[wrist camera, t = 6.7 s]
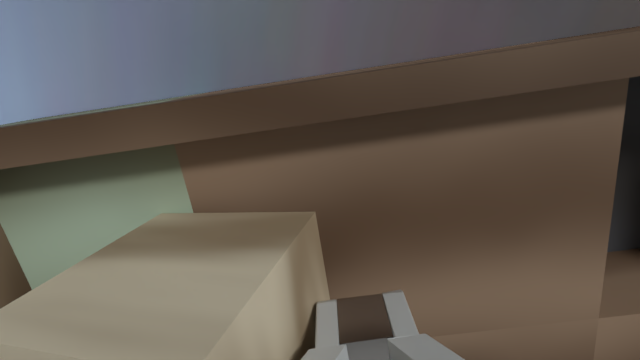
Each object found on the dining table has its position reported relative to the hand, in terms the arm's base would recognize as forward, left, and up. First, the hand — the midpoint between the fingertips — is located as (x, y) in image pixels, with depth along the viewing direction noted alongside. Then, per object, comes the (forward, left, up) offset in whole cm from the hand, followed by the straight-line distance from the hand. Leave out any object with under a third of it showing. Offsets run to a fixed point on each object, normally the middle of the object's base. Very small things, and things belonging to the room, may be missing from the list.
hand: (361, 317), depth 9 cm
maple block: (0, -3, -2) cm, 4 cm away
